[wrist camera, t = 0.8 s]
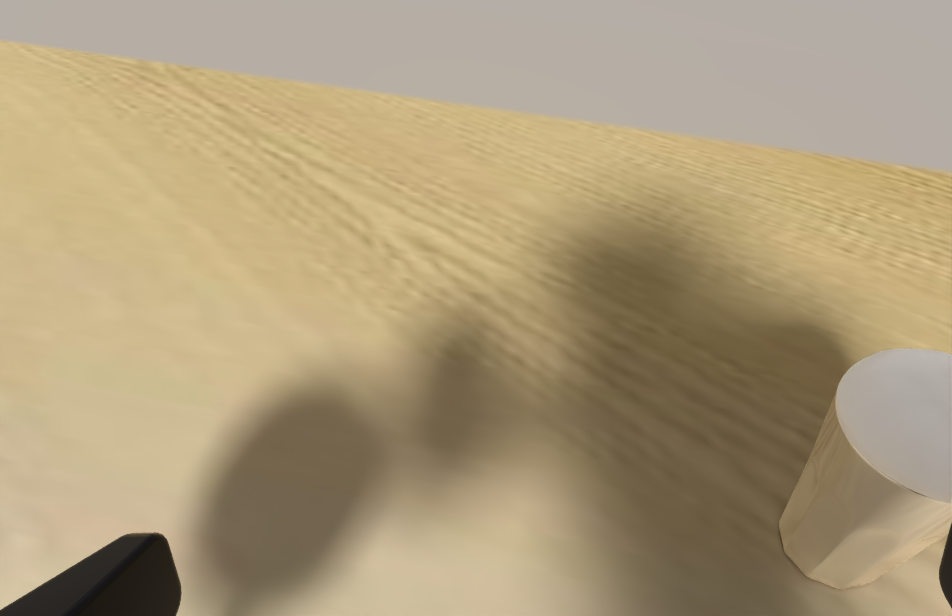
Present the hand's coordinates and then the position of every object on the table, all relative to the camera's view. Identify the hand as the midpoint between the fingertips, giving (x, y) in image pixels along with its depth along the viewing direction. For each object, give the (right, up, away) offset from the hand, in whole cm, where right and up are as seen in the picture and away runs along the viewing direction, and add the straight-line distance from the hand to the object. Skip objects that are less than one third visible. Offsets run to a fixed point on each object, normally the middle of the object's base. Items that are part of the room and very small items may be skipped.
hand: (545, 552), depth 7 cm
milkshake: (+12, -6, +15) cm, 20 cm away
